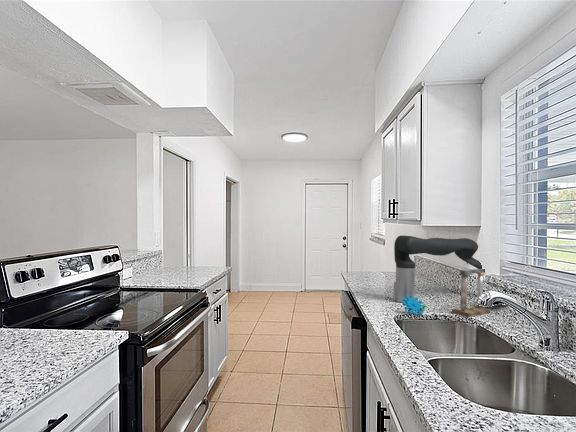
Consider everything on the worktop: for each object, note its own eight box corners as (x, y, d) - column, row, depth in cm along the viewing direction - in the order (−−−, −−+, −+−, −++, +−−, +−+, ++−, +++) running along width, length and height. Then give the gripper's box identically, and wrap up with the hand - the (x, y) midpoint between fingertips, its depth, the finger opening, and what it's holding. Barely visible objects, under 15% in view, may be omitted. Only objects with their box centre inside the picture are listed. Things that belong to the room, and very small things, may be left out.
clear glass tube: (478, 305, 175) (479, 272, 175) (485, 307, 173) (485, 273, 173) (474, 306, 174) (475, 273, 174) (481, 307, 171) (482, 274, 171)
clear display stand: (473, 308, 177) (474, 267, 177) (489, 312, 171) (491, 270, 171) (451, 312, 168) (452, 269, 168) (468, 317, 161) (469, 272, 161)
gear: (405, 312, 161) (401, 292, 168) (400, 319, 165) (396, 299, 172) (430, 315, 161) (425, 296, 169) (424, 322, 166) (419, 303, 173)
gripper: (488, 281, 189) (469, 284, 180) (516, 286, 178) (496, 289, 169) (488, 296, 189) (468, 299, 180) (516, 302, 178) (496, 305, 169)
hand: (482, 294), depth 174 cm, fingers closed
